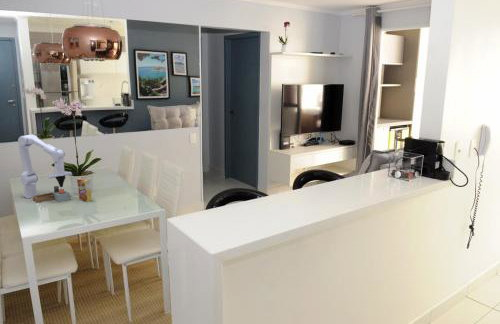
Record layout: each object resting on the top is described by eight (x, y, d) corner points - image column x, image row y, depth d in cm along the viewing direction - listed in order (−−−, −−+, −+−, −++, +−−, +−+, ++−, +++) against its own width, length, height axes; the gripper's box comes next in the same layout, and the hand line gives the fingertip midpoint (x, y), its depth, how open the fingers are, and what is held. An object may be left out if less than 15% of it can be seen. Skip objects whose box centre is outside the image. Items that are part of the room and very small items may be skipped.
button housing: (54, 200, 270) (54, 193, 269) (66, 197, 276) (66, 190, 275) (58, 202, 266) (57, 195, 265) (70, 199, 272) (69, 192, 271)
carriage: (51, 195, 276) (50, 186, 274) (60, 193, 280) (59, 184, 279) (53, 196, 272) (53, 188, 271) (62, 195, 276) (62, 186, 275)
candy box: (78, 200, 271) (76, 178, 268) (83, 198, 275) (81, 177, 271) (87, 202, 267) (85, 180, 263) (92, 200, 270) (90, 179, 267)
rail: (33, 200, 269) (32, 196, 268) (61, 194, 282) (61, 190, 282) (36, 203, 264) (36, 198, 263) (65, 197, 277) (65, 193, 276)
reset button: (59, 194, 270) (58, 189, 269) (63, 194, 272) (63, 188, 271) (60, 195, 268) (60, 190, 267) (65, 195, 270) (64, 189, 269)
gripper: (50, 170, 258) (52, 190, 261) (72, 166, 268) (74, 185, 271) (46, 168, 263) (48, 187, 266) (68, 165, 273) (70, 183, 276)
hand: (61, 186), depth 269 cm, fingers closed
